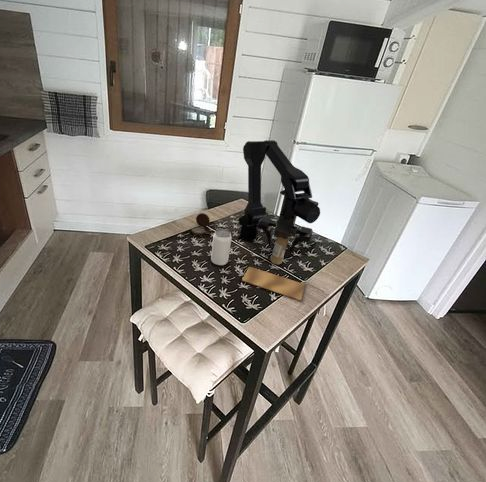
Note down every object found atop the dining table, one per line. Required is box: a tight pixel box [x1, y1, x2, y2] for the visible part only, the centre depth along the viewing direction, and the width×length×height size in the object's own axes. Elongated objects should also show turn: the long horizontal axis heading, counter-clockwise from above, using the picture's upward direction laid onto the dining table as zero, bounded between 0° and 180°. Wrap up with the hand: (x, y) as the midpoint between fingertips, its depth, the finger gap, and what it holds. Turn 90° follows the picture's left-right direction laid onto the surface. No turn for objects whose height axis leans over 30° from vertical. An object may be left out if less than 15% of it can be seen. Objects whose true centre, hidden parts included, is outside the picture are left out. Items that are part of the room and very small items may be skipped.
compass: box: [190, 212, 210, 236], centre depth 119 cm, size 8×8×7 cm
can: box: [210, 228, 233, 266], centre depth 101 cm, size 6×6×12 cm
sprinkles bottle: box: [269, 237, 291, 265], centre depth 104 cm, size 5×5×14 cm
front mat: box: [241, 266, 306, 302], centre depth 96 cm, size 20×9×1 cm, turn 67°
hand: (279, 248), depth 104 cm, fingers closed on sprinkles bottle, 7 cm apart
